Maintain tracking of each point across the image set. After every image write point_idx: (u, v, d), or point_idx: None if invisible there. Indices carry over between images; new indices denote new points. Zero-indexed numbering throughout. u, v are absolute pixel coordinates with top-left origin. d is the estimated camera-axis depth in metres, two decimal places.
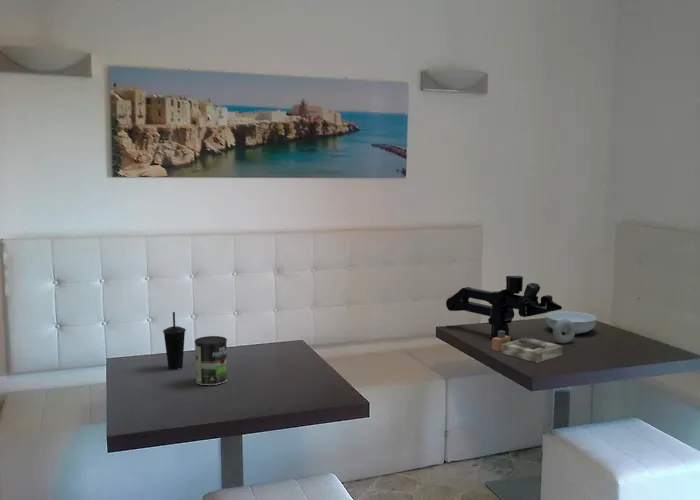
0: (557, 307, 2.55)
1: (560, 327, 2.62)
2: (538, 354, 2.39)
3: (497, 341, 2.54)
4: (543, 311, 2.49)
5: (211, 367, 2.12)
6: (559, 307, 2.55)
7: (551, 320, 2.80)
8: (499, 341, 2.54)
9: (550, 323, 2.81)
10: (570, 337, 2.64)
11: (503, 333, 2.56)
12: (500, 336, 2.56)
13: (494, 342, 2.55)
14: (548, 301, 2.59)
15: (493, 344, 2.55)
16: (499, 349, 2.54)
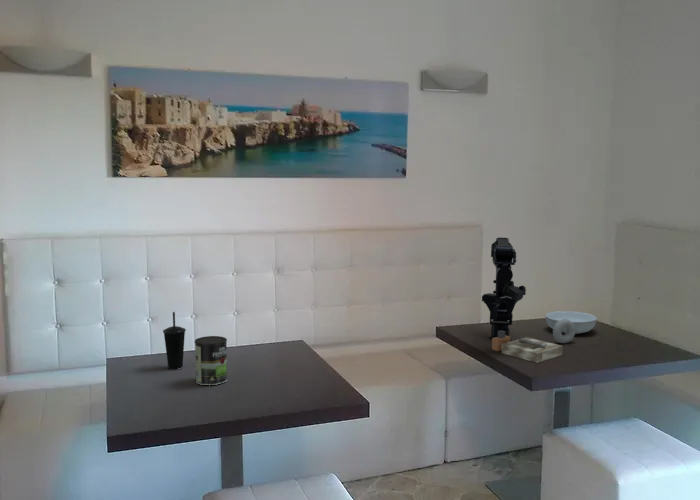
0: (509, 312, 2.59)
1: (560, 327, 2.62)
2: (538, 354, 2.39)
3: (497, 341, 2.54)
4: (493, 316, 2.53)
5: (211, 367, 2.12)
6: (509, 314, 2.59)
7: (551, 320, 2.80)
8: (499, 341, 2.54)
9: (550, 323, 2.81)
10: (570, 337, 2.64)
11: (503, 333, 2.56)
12: (500, 336, 2.56)
13: (494, 342, 2.55)
14: (513, 300, 2.57)
15: (493, 344, 2.55)
16: (499, 349, 2.54)
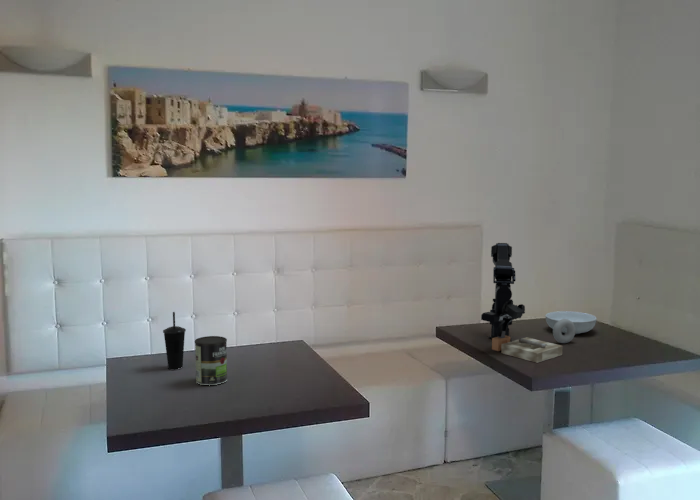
0: None
1: (560, 327, 2.62)
2: (538, 354, 2.39)
3: (497, 341, 2.54)
4: (498, 333, 2.56)
5: (211, 367, 2.12)
6: None
7: (551, 320, 2.80)
8: (499, 341, 2.54)
9: (550, 323, 2.81)
10: (570, 337, 2.64)
11: (503, 333, 2.56)
12: None
13: (494, 342, 2.55)
14: (507, 320, 2.56)
15: (493, 344, 2.55)
16: (499, 349, 2.54)
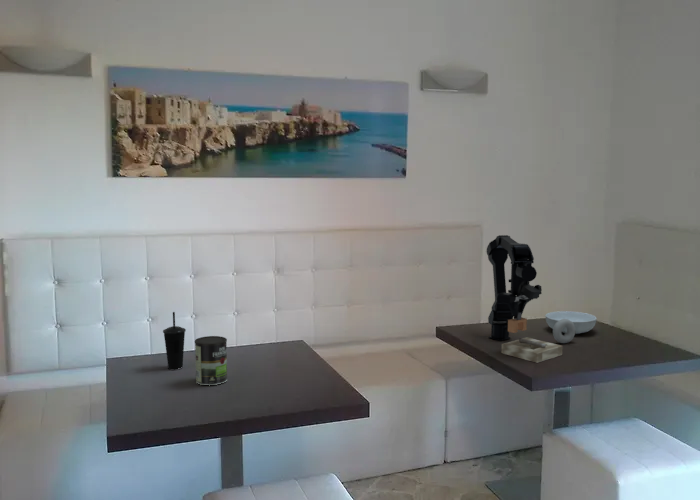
0: None
1: (560, 327, 2.62)
2: (538, 354, 2.39)
3: (513, 322, 2.49)
4: (514, 314, 2.51)
5: (211, 367, 2.12)
6: None
7: (551, 320, 2.80)
8: (515, 323, 2.49)
9: (550, 323, 2.81)
10: (570, 337, 2.64)
11: (519, 315, 2.51)
12: (516, 318, 2.51)
13: (510, 324, 2.50)
14: (523, 301, 2.51)
15: (509, 326, 2.50)
16: (515, 331, 2.49)
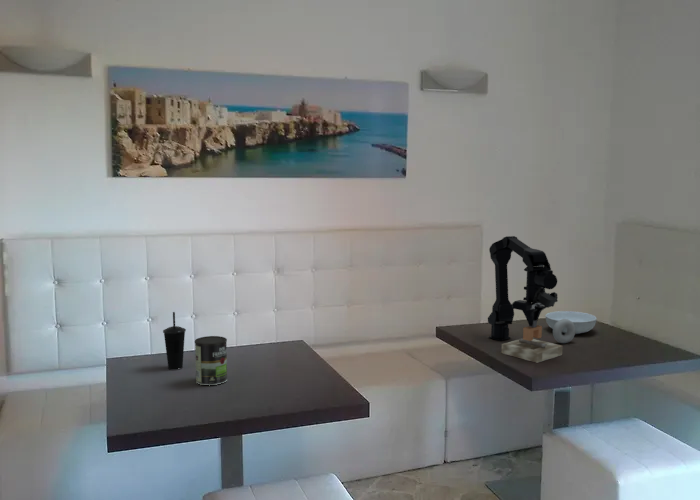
0: None
1: (560, 327, 2.62)
2: (538, 354, 2.39)
3: (529, 330, 2.46)
4: (529, 322, 2.48)
5: (211, 367, 2.12)
6: None
7: (551, 320, 2.80)
8: (531, 330, 2.46)
9: (550, 323, 2.81)
10: (570, 337, 2.64)
11: (535, 322, 2.48)
12: None
13: (526, 332, 2.47)
14: (539, 309, 2.48)
15: (524, 334, 2.47)
16: (531, 339, 2.46)
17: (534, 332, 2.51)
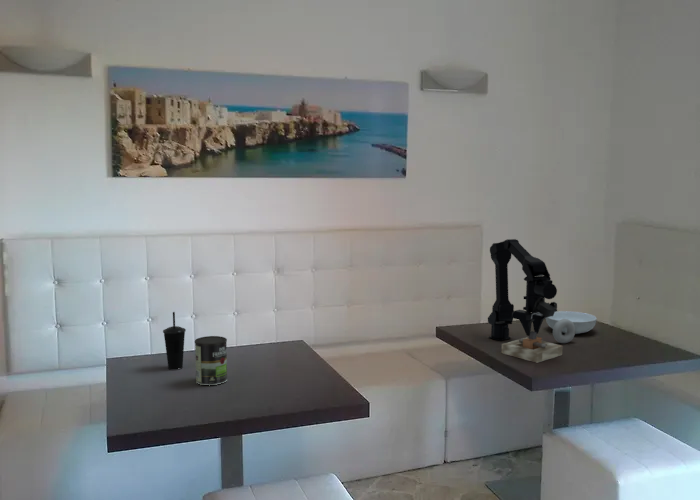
0: (536, 329, 2.51)
1: (560, 327, 2.62)
2: (538, 354, 2.39)
3: (528, 342, 2.46)
4: (526, 332, 2.47)
5: (211, 367, 2.12)
6: (536, 331, 2.51)
7: (551, 320, 2.80)
8: (530, 342, 2.46)
9: (550, 323, 2.81)
10: (570, 337, 2.64)
11: (534, 334, 2.48)
12: (531, 337, 2.48)
13: (525, 344, 2.47)
14: (541, 318, 2.49)
15: (524, 346, 2.48)
16: None
17: None
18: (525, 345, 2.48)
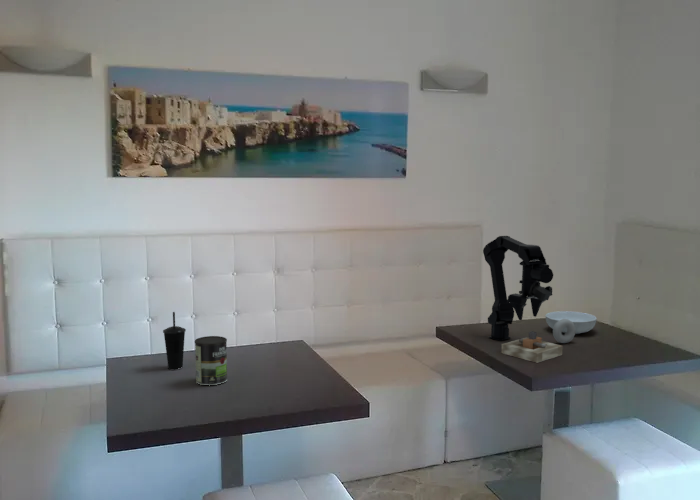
0: (534, 312, 2.57)
1: (560, 327, 2.62)
2: (538, 354, 2.39)
3: (528, 342, 2.46)
4: (518, 316, 2.51)
5: (211, 367, 2.12)
6: (534, 314, 2.56)
7: (551, 320, 2.80)
8: (530, 342, 2.46)
9: (550, 323, 2.81)
10: (570, 337, 2.64)
11: (534, 334, 2.48)
12: (531, 337, 2.48)
13: (525, 344, 2.47)
14: (539, 301, 2.55)
15: (524, 345, 2.48)
16: None
17: None
18: (525, 345, 2.48)
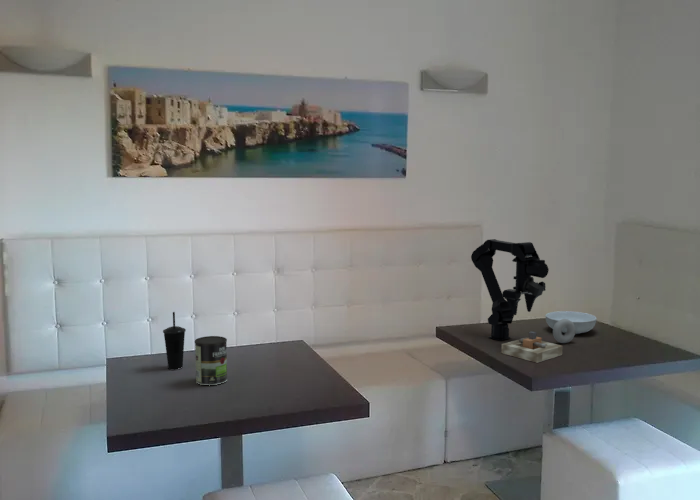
0: (528, 307, 2.63)
1: (560, 327, 2.62)
2: (538, 354, 2.39)
3: (528, 342, 2.46)
4: (513, 311, 2.57)
5: (211, 367, 2.12)
6: (528, 309, 2.63)
7: (551, 320, 2.80)
8: (530, 342, 2.46)
9: (550, 323, 2.81)
10: (570, 337, 2.64)
11: (534, 334, 2.48)
12: (531, 337, 2.48)
13: (525, 344, 2.47)
14: (533, 296, 2.62)
15: (524, 345, 2.48)
16: None
17: None
18: (525, 345, 2.48)
